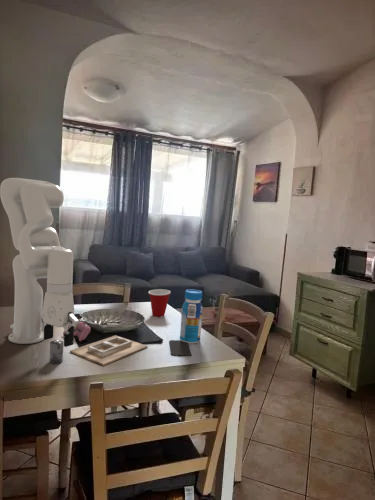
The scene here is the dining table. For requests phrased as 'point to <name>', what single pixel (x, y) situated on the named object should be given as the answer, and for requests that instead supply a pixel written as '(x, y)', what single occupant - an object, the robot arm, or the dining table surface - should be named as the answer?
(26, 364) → the dining table surface
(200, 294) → the beverage bottle
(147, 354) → the dining table surface
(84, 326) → the video game controller
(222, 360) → the dining table surface
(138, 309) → the dining table surface
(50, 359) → the cylinder
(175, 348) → the phone
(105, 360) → the tray
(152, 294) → the plastic cup
